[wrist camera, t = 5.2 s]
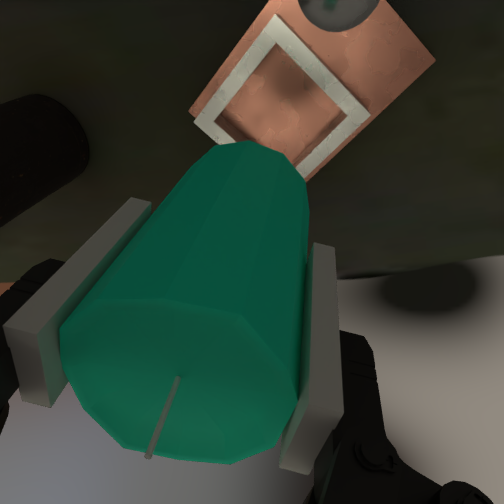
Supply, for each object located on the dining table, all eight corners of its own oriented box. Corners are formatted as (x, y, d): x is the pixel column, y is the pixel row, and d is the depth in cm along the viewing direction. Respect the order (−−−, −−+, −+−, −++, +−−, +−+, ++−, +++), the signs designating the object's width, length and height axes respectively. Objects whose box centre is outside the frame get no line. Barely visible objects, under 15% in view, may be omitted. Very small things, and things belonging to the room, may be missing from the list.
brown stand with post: (192, 107, 34) (131, 156, 23) (323, -70, 26) (326, -127, 15) (288, 193, 37) (275, 273, 26) (431, 58, 29) (500, 90, 18)
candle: (261, 276, 20) (202, 547, 10) (162, 213, 19) (-19, 449, 9) (338, 193, 17) (361, 467, 7) (224, 110, 16) (51, 296, 6)
